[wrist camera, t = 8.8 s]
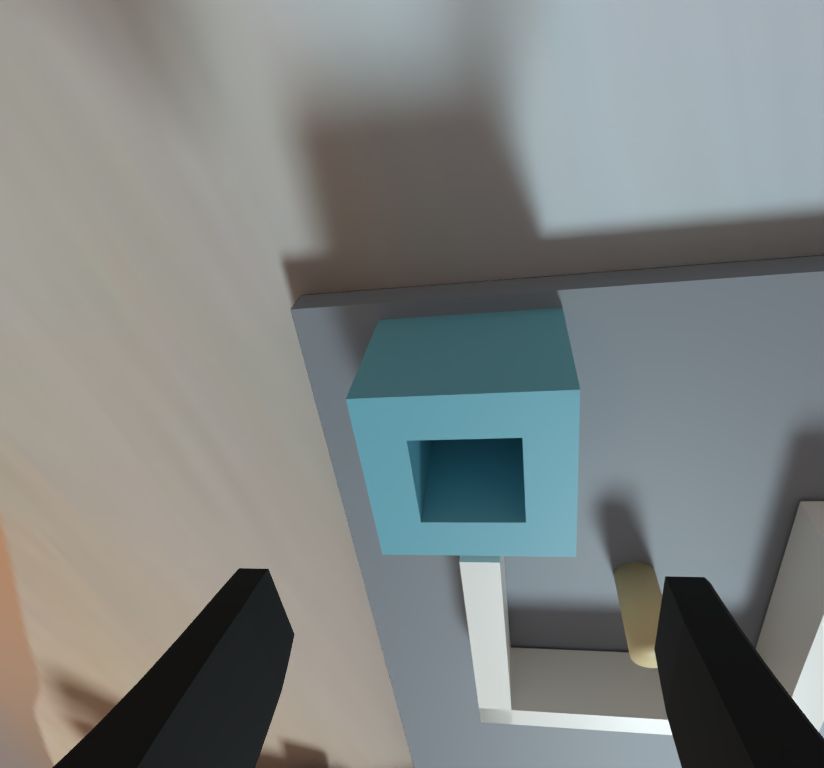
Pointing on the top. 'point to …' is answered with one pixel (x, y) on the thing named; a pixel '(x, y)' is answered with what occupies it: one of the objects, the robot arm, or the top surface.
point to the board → (602, 482)
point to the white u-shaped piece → (615, 671)
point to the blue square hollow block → (470, 434)
